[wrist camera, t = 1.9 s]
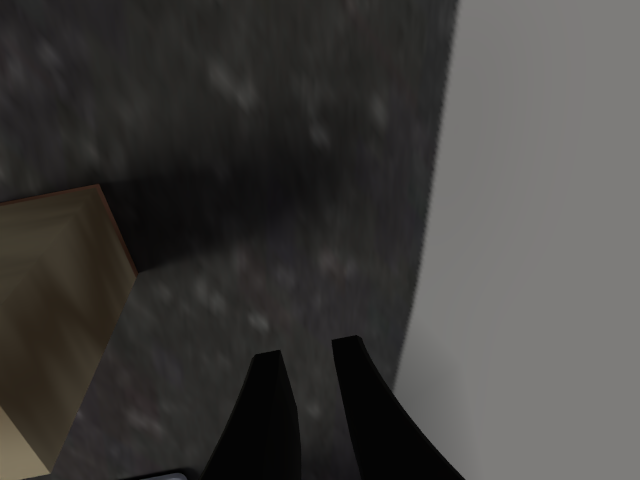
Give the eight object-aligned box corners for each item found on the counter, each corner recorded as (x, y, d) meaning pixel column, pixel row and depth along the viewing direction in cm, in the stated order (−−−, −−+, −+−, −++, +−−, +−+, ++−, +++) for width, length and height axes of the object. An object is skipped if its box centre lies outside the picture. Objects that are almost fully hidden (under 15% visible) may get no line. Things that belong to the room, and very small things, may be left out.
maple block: (138, 273, 22) (50, 473, 13) (42, 291, 22) (-108, 503, 13) (99, 183, 20) (-38, 354, 11) (-9, 204, 20) (-229, 390, 11)
